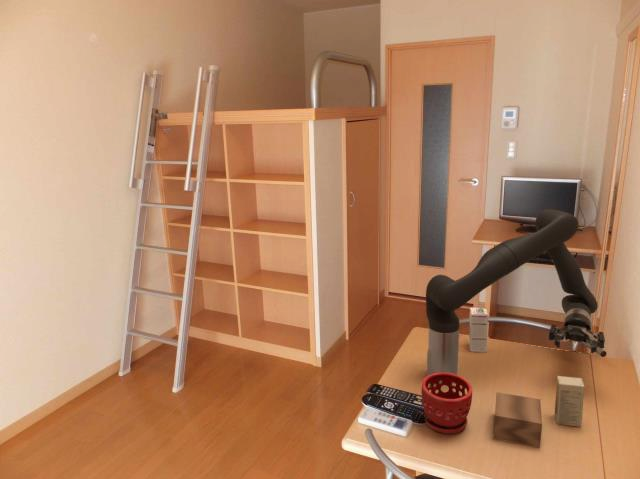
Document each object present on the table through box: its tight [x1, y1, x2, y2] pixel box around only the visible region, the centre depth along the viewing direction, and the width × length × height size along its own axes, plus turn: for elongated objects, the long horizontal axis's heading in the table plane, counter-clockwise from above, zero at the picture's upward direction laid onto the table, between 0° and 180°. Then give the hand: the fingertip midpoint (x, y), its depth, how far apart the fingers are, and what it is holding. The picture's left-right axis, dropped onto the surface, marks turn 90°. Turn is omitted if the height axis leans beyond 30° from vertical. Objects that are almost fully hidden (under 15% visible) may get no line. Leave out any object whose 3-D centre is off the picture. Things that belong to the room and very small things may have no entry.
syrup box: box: [468, 307, 489, 353], centre depth 169 cm, size 6×6×14 cm
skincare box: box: [554, 375, 586, 428], centre depth 129 cm, size 6×4×12 cm
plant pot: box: [421, 372, 473, 434], centre depth 130 cm, size 13×13×12 cm
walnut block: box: [493, 391, 543, 448], centre depth 127 cm, size 11×11×7 cm
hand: (575, 347), depth 135 cm, fingers open, 8 cm apart
